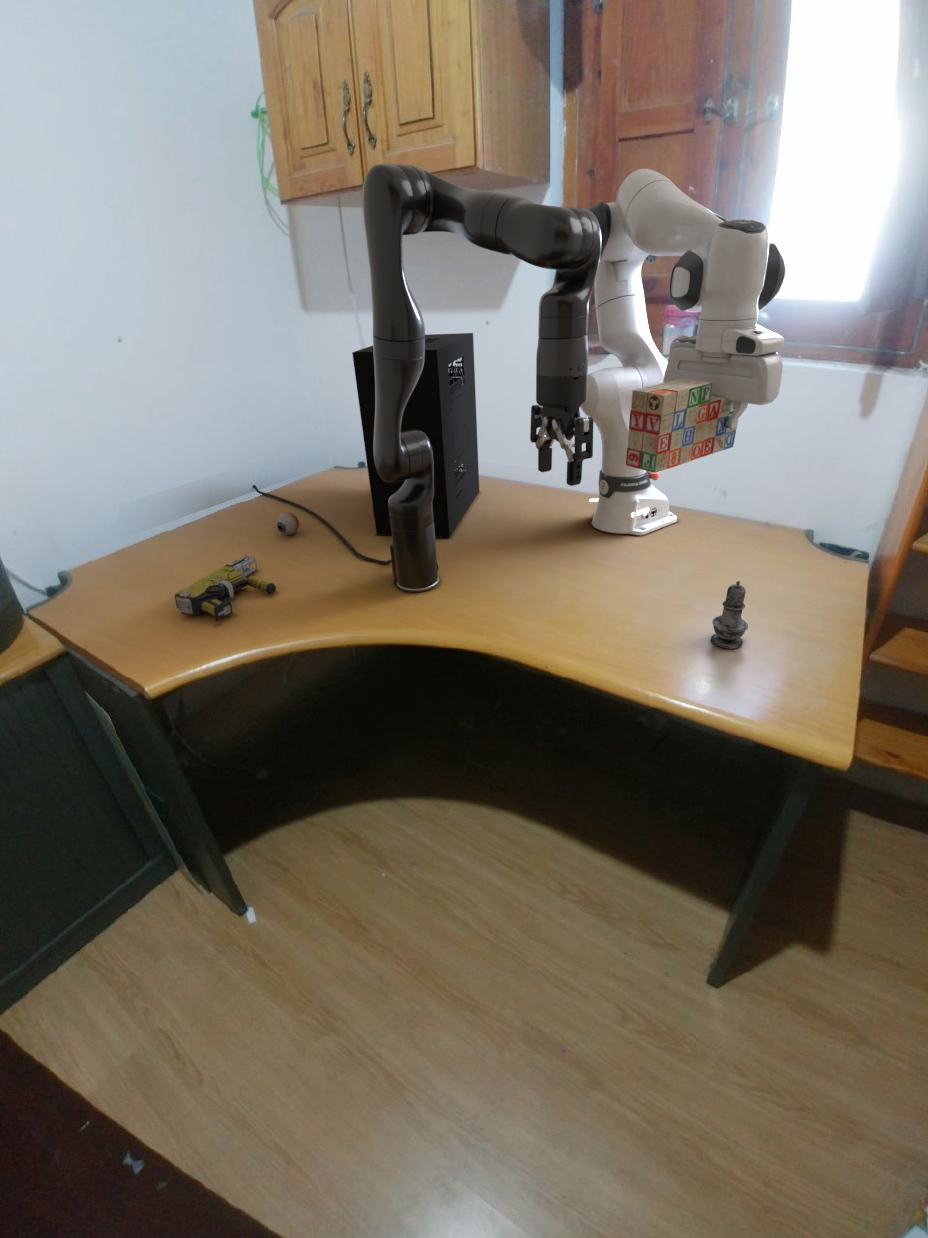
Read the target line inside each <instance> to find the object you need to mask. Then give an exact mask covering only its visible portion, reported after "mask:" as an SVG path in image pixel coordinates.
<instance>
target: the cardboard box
mask: <svg viewBox="0 0 928 1238" xmlns="http://www.w3.org/2000/svg"><path fill="white" fill-rule="evenodd" d="M351 354H352V361H353V367H354V376H355V384H356V391H357V399H358V406H359V407H358V408H359V415H360V421H361V428H362V436H363V444H364V452H365V458H366V459H365V461H366V466H367V474H368V481H369V489H370V496H371V503H372V504H371V505H372V511H373V518H374V519H373V520H374V527H375V535H376V536H392V533H391V525H390V516H389V508H388V500H389V498H390V496H391V495H392V494H394V493H395V492H396V491H397V490H398V489H399V488H400V487H401V486H402V485H403V483H404V482H405V480H403V481H399V482H395V483H387V482H385V481H383V480H382V479H381V478H380V476H379V475H378V472H377V470H376V466H375V462H374V451H373V444H374V424H375V369H374V355H373V345H370V346H367V347H364V348H361V349H358V350H355V351H352V352H351ZM475 371H476V370H475V346H474V333H473V332H462V333H434V334H433V333H432V334H425V360H424V366H423V370H422V373H421V375H420V378H419V380H418V382H417V384H416V386H415V388H414V390H413V392H412V394H411V396H410V398H409V400H408V402H407V404H406V406H405V409H404V412H403V416H402V422H401V432H403V431H407V430H412V429H418V430H421V431H422V432H424V433H425V434H426V436H427V437H428V439H429V441H430V444H431V447H432V452H433V464H434V498H433V501H432V506H433V518H434V530H435V538H446V539H447V538H448V539H450V538H451V536H452V535H453V533H454V532H455V530H456V528H457V527H458V525H459V524H460V523H461V521H462V520H463V518H464V516H465V514H466V513H467V512H468V510H469V508H470V507H471V505H472V504H473V502H474V501H475V499H476V498H477V496H478V494H479V493H480V474H479V471H480V470H479V450H478V449H479V445H478V424H477V423H478V422H477V421H478V419H477V398H476V397H477V396H476V374H475V373H476V372H475Z"/></svg>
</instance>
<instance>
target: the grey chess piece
mask: <svg viewBox="0 0 928 1238" xmlns="http://www.w3.org/2000/svg"><path fill="white" fill-rule="evenodd" d="M746 593H747V591H746V588H745V587H744V586H743V585H742V584H741V582H740V580H737V581H736V582H735V584H731V585H730V586H728V587H727V590H726V596H725V600H724V601H722V607H723V609H722V614H721V615H718V616H714V618H713V619H712V620H711V621H712V622H711V623H712V625H713V630H714V632H715V633H714V634H712V635H711V636H710V640H711V642H712V643H713V644H714V645H715V646H717V647H720V648H723V649H729V650H733V649H739V648H740V647H742V646H743V643H744V642H743V639H742V638H741V637H743V635H744V634H745V633H746V631H747V630H748V628H749V624H748V622H747V621H746V620H744V619H743V618H742V614H743V610H744V609H745V608H746V605H745V603H744V601H745V598H746Z"/></svg>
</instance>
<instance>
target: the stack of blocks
mask: <svg viewBox="0 0 928 1238" xmlns="http://www.w3.org/2000/svg"><path fill="white" fill-rule="evenodd" d="M712 385H713V383H712V382H704V381H696V380H688V379H678V380H673V381H669V382H664V383H660V384H657V385H653V386H648V387H643V388H639V389H634V390H633V392H632V404H631V410H630V420H629V437H628V447H627V457H626V465H627V466H631V467H634V468H638V469H642V470H645V471H649V472H653V473H656V472H657V473H659V472H662V471H665V470H669V469H672V468H675V467H678V466H680V465H684V464H687V463H690V462H693V461H695V460H697V459H700V458H704V457H706V456H709V455H713V454H716V453H719V452H723V451H725V450H728V449H731V448H734V444H735V440H736V439H735V438H736V434H737V429H738V426H737V427H736V428H734V429H730V428H725V427H724V423H725V417H729V416H731V415H732V413H733V412H734V410H735V409H736V408H733V402H734V401H729V400H726V399H725V398H722V397H716V396H711V392H712Z"/></svg>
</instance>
